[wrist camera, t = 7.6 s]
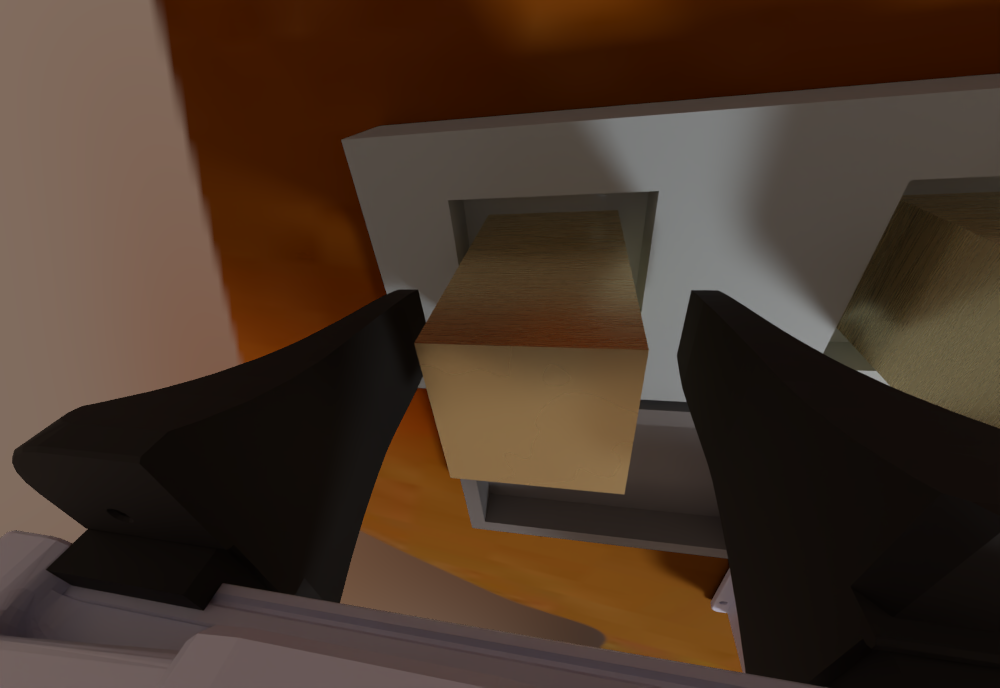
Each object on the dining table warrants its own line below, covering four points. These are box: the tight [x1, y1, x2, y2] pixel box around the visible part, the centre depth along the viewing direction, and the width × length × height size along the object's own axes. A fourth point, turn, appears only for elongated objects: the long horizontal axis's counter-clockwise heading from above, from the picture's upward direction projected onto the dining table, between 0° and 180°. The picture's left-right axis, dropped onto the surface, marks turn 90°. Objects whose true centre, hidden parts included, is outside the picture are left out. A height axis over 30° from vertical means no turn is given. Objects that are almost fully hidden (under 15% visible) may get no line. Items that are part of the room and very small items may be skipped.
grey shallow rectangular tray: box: [460, 400, 728, 559], centre depth 18 cm, size 10×14×2 cm
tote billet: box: [414, 210, 649, 494], centre depth 11 cm, size 4×4×7 cm
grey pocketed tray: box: [341, 73, 1000, 402], centre depth 12 cm, size 9×22×2 cm, turn 95°
